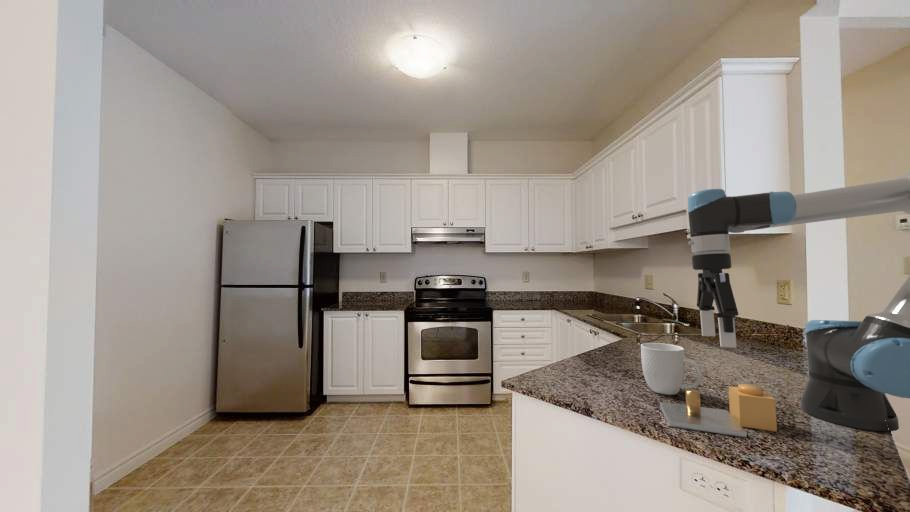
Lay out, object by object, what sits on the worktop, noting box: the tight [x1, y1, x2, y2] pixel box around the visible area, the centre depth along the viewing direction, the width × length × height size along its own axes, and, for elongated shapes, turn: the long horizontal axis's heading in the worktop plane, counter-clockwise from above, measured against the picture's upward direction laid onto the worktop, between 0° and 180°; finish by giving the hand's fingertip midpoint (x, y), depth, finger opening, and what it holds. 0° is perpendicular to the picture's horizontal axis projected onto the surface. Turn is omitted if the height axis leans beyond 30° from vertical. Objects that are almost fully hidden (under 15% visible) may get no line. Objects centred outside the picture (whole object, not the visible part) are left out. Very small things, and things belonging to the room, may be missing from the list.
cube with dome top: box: [728, 383, 778, 432], centre depth 77 cm, size 6×6×8 cm
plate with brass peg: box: [659, 388, 748, 438], centre depth 79 cm, size 14×12×7 cm
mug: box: [640, 342, 703, 396], centre depth 97 cm, size 15×11×13 cm
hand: (717, 341), depth 80 cm, fingers open, 13 cm apart
